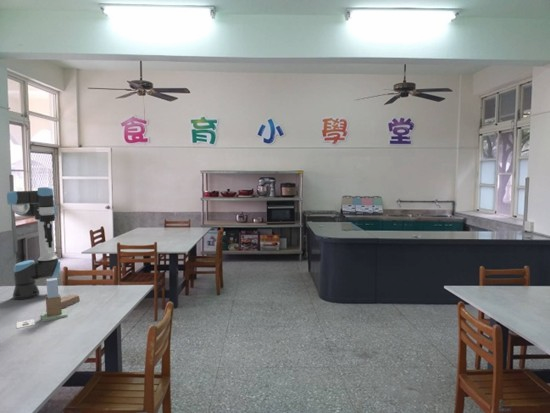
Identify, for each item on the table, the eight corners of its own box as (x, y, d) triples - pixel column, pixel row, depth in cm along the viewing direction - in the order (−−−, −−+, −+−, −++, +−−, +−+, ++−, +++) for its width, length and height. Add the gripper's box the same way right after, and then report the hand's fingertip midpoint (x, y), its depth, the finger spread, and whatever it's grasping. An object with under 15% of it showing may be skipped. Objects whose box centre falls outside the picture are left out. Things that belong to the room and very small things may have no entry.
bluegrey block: (47, 296, 221) (46, 279, 220) (57, 294, 224) (56, 277, 223) (48, 298, 217) (46, 281, 216) (58, 296, 220) (57, 279, 219)
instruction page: (16, 322, 212) (16, 322, 212) (33, 319, 217) (33, 318, 217) (16, 328, 204) (16, 328, 204) (34, 324, 208) (34, 324, 208)
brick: (69, 300, 249) (69, 293, 249) (80, 301, 247) (80, 294, 247) (48, 309, 234) (47, 301, 233) (59, 310, 231) (59, 302, 231)
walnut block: (46, 313, 222) (45, 296, 221) (60, 310, 226) (59, 294, 225) (47, 316, 216) (46, 299, 216) (61, 314, 220) (60, 297, 219)
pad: (41, 315, 223) (41, 313, 223) (65, 310, 230) (64, 308, 230) (42, 321, 213) (42, 319, 213) (67, 316, 220) (67, 314, 220)
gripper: (37, 213, 228) (40, 248, 230) (40, 216, 207) (43, 255, 209) (52, 212, 232) (54, 247, 234) (56, 215, 212) (59, 253, 213)
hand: (49, 251), depth 222 cm, fingers open, 13 cm apart
